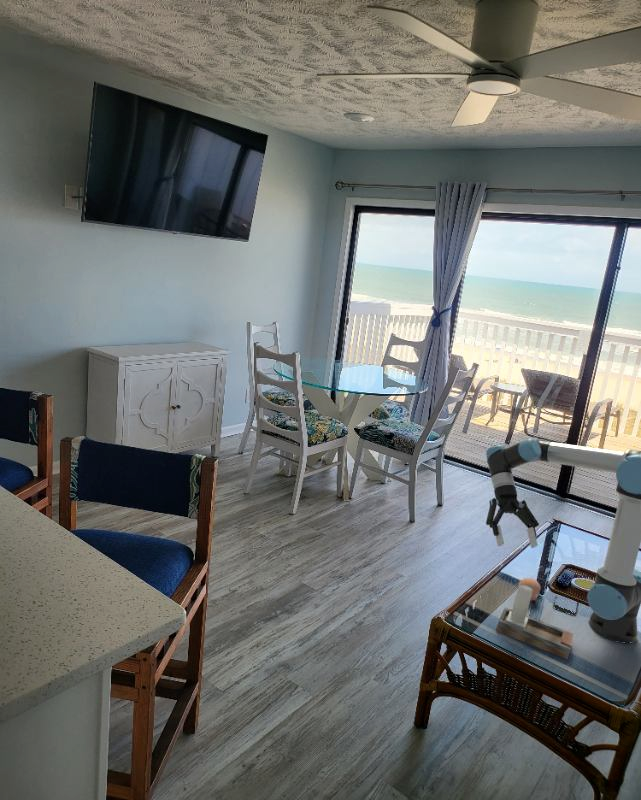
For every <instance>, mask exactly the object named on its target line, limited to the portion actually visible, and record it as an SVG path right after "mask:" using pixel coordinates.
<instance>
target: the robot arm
mask: <svg viewBox="0 0 641 800" xmlns="http://www.w3.org/2000/svg"><path fill="white" fill-rule="evenodd" d="M485 453H486V454H485V455H486V463H487V465H488V469H489V473H490V474H489V475H490V478H491V483H492V487H493V489H494V490H493V491H494V497H493V498H491V499H490V500H489V509H488V514H487V517H486V522H485V524H486V526H489V528H490V529H492V534H493V536H494V537H495V539H496V544H497V547H501V546H503V545H505V542H504V537H503V532H502V528H501V524H499V523H500V521H501V519H502V517H503V516H504V514H513V515H514V516H516V517H517V518H518V519H519V520H520V521H521V523H523V524H524V525H525V527H526V528H527V529H526V532H527V536H528V540H529V544H530V548H531V549H535V548H536V547H538V541H537V537H538V535H537V531H536V528H537V527H539V526H540V524H539V522H538V520H537V519H536V517H535V515H534V514H533V512H532V511H531V510H530V508H529V507H528V504H527V502H526V500H525V499H523V500H521V501H519V500H518V492H517V488H516V486H515V485H516V483H515V480H514V476H513V472H512V470H513V469H515V468H517V467H519V466H523V465H525V464H529V463H533V462H544V463H545V462H546V463H552V464H557V465H558V464H559V465H564V466H570V467H576V468H581V469H582V468H583V469H589V470H595V471H601V472H605V473H606V472H607V473H612V474H613V473H614V474H615V479H616V481H617V485H616V489H615V491H616V493H617V495H618V496H619V499H618V504H617V507H616V512H615V516H614V521H613V525H612V530H611V534H610V538H609V543H608V547H607V552H606V555H605V559H604V564H603V566H601V567H599V568H598V569H597V570H596V576H595V578H594V583H593V585H592V586H591V587H590V588H589V589H588V592H587V594H586V595H587V596H586V599H587V604H588V605H589V607H590V609H591V610H592V613H591V615H590V617H589V619H588V623H589V627H591V628H592V630H593V631H595V632H596V633H597V634H598V635H601V636H602V637H604V638H606V639H609V640H611V641H614V642H616V641H618V642H617V643H620V642H625V643H624V644H627V643H629V644H631V643H630V642H634V641H635V640H636V641H637V638H638V632H639V631H638V622H637V621H638V614H639V611H640V607H641V571H639V570H637V569H635V566H636V563H637V560H638V554H639V551H640V547H641V450H634V449H628V450H626V451H619V450H612V449H605V448H597V447H591V446H581V445H576V444H569V443H562V442H554V441H548V440H546V439H541V438H540V439H539V438H537V439H534V438H528V439H524V440H522V441H519V442H518V443H516V444H513V445H510V446H509V447H505V446H504V445H501V444H500V445H499V444H498V445H493V446H490V447H488V448H487V450H486V452H485ZM497 507H498V510H497ZM496 510H497V512H496ZM495 514H496V515H495ZM636 641H635V642H636ZM635 642H634V643H635Z"/></svg>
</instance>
